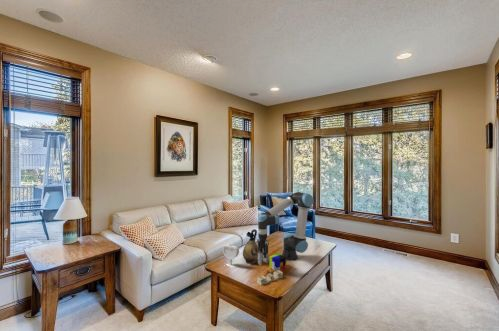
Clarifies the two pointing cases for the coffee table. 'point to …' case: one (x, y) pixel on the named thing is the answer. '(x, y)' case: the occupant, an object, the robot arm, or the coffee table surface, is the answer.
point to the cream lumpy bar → (269, 277)
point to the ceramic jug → (251, 248)
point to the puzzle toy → (277, 262)
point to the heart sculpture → (230, 253)
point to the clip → (261, 258)
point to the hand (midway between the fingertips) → (263, 260)
